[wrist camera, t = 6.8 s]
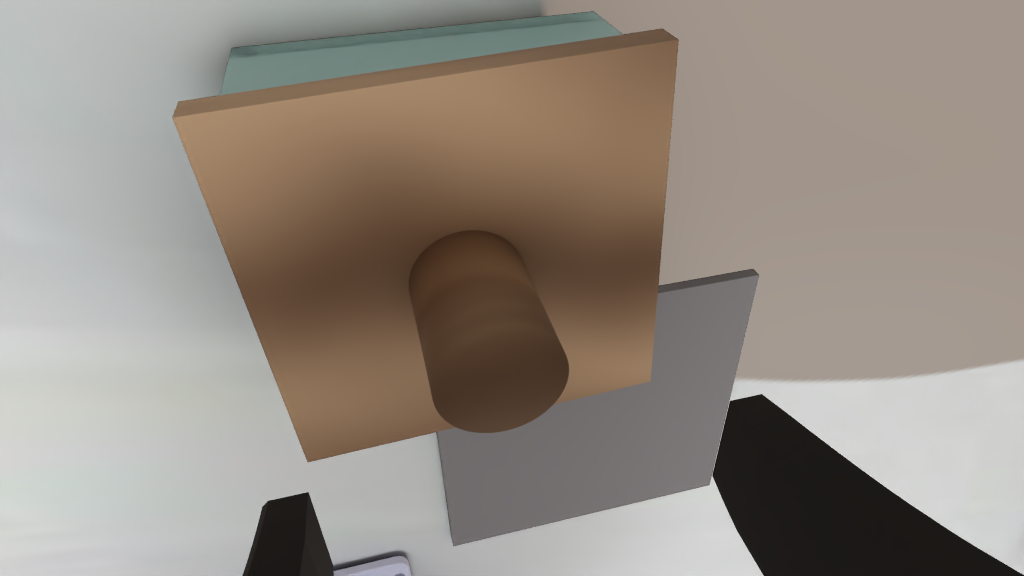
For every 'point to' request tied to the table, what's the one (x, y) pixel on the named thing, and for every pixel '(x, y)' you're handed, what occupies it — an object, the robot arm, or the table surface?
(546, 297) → the lid
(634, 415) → the mat
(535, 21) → the teal square tray
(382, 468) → the table surface
